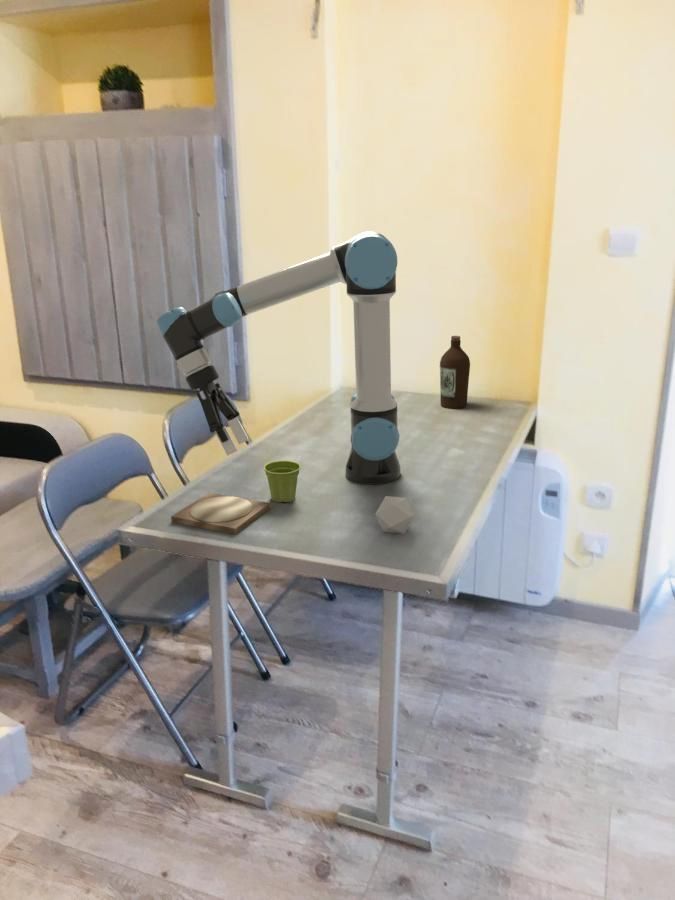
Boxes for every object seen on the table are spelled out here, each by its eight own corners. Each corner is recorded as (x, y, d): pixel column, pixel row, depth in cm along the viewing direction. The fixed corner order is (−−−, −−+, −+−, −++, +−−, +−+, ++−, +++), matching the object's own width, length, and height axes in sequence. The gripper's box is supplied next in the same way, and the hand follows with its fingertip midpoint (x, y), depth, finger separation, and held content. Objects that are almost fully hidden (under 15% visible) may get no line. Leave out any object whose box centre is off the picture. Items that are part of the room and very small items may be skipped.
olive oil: (451, 399, 278) (453, 332, 269) (474, 405, 270) (477, 336, 262) (432, 405, 271) (434, 336, 263) (455, 411, 263) (458, 340, 255)
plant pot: (282, 488, 198) (281, 457, 195) (309, 496, 193) (308, 465, 190) (257, 499, 192) (255, 468, 189) (284, 508, 186) (282, 476, 183)
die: (418, 527, 176) (399, 490, 177) (423, 524, 167) (403, 485, 169) (387, 542, 175) (368, 505, 176) (390, 540, 166) (370, 501, 168)
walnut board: (270, 508, 186) (269, 501, 185) (235, 534, 172) (235, 527, 172) (209, 497, 193) (208, 491, 193) (171, 522, 180) (171, 515, 179)
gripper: (198, 371, 195) (235, 443, 198) (170, 382, 171) (213, 464, 174) (223, 358, 194) (260, 431, 197) (198, 368, 170) (241, 451, 173)
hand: (238, 447), depth 186 cm, fingers open, 13 cm apart
